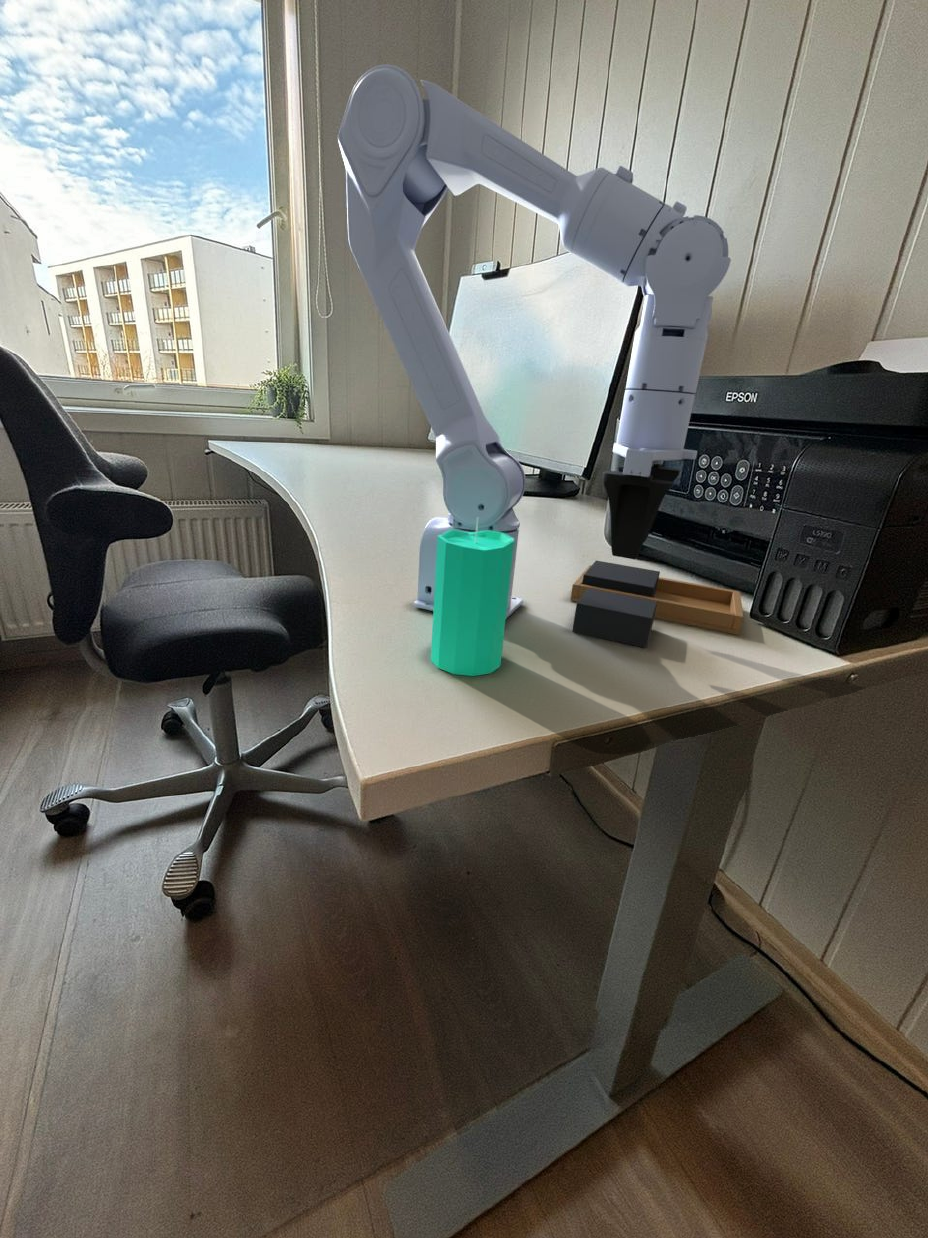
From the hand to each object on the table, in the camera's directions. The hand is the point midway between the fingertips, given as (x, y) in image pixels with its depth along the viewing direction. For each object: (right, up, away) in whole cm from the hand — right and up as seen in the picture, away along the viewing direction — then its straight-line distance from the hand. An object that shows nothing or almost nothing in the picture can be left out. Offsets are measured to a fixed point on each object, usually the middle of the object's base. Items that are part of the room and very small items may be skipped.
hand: (629, 548), depth 51 cm
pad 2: (-1, -8, +3) cm, 8 cm away
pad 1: (+3, -4, +13) cm, 14 cm away
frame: (+6, -5, +12) cm, 14 cm away
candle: (-15, -10, -5) cm, 19 cm away
